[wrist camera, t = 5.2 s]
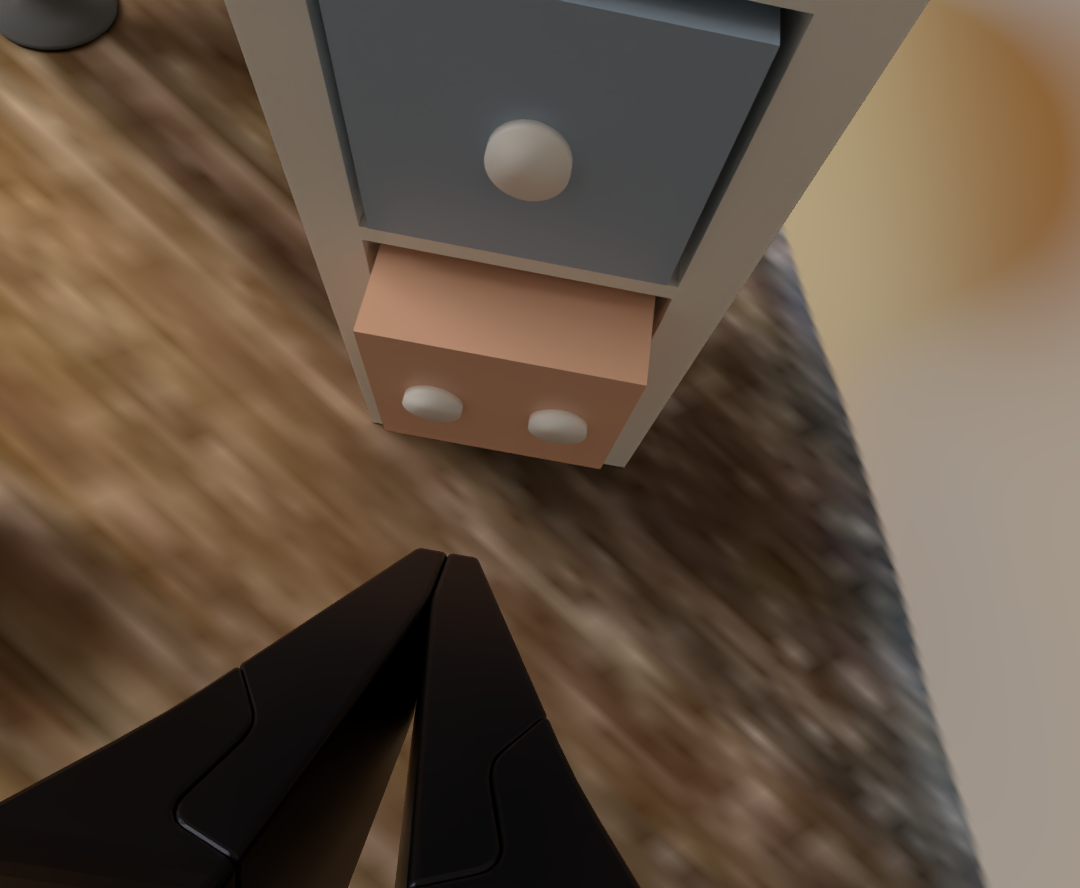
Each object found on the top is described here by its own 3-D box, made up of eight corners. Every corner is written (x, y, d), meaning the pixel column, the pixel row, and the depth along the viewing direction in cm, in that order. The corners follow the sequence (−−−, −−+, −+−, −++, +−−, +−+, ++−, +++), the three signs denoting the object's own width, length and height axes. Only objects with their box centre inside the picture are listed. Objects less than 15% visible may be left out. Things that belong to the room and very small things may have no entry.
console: (624, 467, 22) (941, -18, 7) (372, 422, 22) (160, -182, 7) (640, 315, 25) (901, -280, 10) (414, 272, 25) (325, -410, 10)
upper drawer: (666, 295, 13) (780, 58, 8) (365, 238, 12) (300, -40, 8) (675, 191, 14) (781, -72, 9) (398, 136, 13) (360, -161, 9)
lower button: (599, 477, 17) (645, 396, 13) (381, 438, 17) (349, 341, 13) (610, 389, 18) (656, 285, 14) (405, 351, 18) (383, 233, 14)
